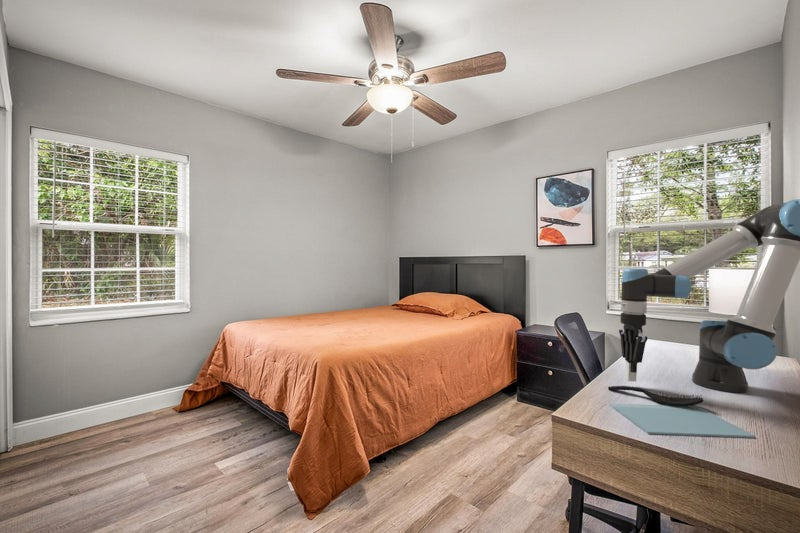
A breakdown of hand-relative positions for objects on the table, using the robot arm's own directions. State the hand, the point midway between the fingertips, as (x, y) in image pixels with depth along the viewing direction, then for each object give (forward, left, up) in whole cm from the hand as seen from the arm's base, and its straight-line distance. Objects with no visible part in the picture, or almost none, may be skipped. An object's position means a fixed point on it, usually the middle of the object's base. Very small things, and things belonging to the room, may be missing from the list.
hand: (631, 380), depth 129 cm
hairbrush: (0, +12, -2) cm, 12 cm away
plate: (+4, +27, -2) cm, 27 cm away
